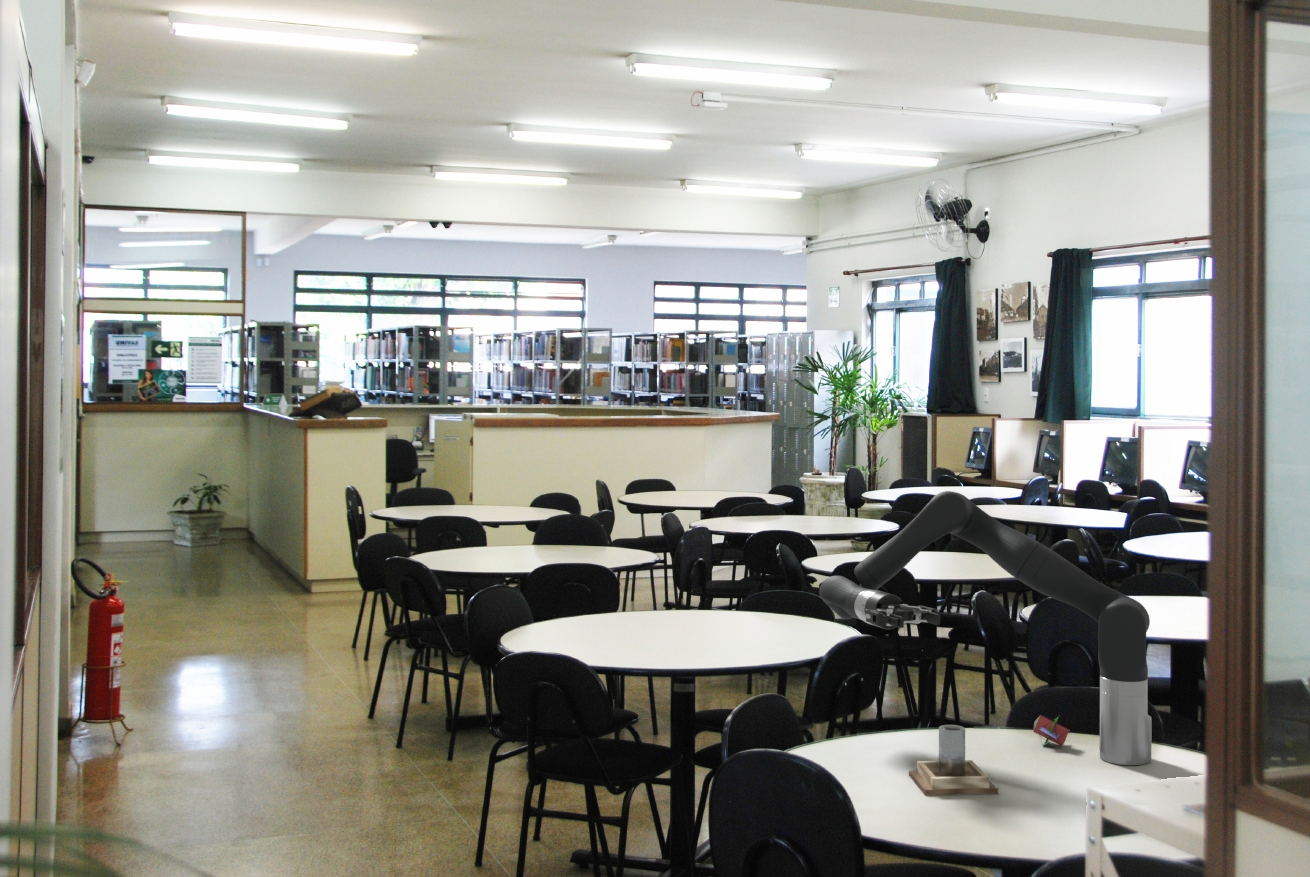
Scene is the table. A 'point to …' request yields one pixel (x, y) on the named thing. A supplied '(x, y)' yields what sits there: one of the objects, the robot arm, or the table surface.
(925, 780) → the wooden tray
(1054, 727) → the geometric puzzle
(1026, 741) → the table surface
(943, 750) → the steel tube
